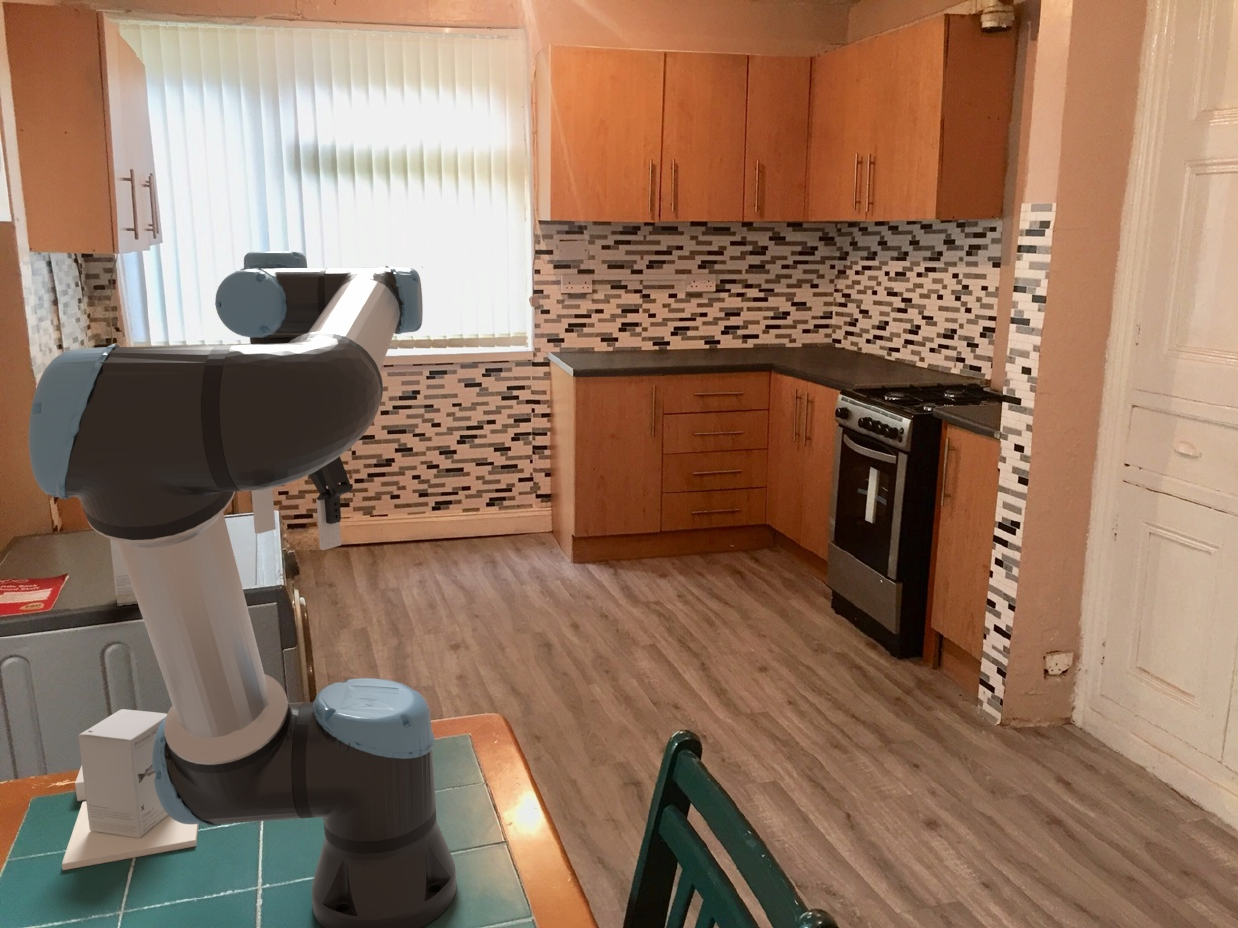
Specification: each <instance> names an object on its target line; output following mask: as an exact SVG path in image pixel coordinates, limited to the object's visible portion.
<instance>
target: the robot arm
mask: <svg viewBox="0 0 1238 928" xmlns="http://www.w3.org/2000/svg"><path fill="white" fill-rule="evenodd" d="M422 291H423V289H422V281H421V278H420V275H419V272H418V271H417V270H415V268H412V267H398V266H397V267H396V266H391V265H385V266H383V267H382V266H381V267H377V266H376V267H336V268H335V267H333V268H329V267H328V268H327V267H318V268H317V267H310V268H308V261H307V257H306V256H305V255H304V253H302V252H300V251H249V252H247V253H246V254H245V255H244V257H243V268H241V269H240V270H236V271H234V272H232V273H230V274H229V275H227V276H226V277H225V278H224V279H223V280H222V281H221V283H219V286H218V288H217V290H216V293H215V303H214V305H215V310H216V313H217V314H218V315H217V316H218V318H219V319H220V320H221V322H222V324H223V325H224V326H225V327H226V328H227V329H228V330H230V331H231V332H233V333H234V334H236V335H238V336H241V337H246V338H249V343H241V344H238V343H237V344H215V345H214V344H213V345H211V344H210V345H209V344H208V345H171V346H170V345H168V346H167V345H166V346H165V345H164V346H126V347H123V346H120V345H119V344H116V343H112V344H110V345H108V346H106V347H104V346H103V347H89V348H77V349H76V348H75V349H74V348H73V349H69V350H66V351H63V352H62V353H60V354H59V355H57V356H56V357H54V358H53V359H52V361H50V362H49V363H48V365H47V366H46V368H45V369H44V371H43V372H42V374H41V376H40V379H39V381H38V383H37V386H36V388H35V391H34V395H33V398H32V403H31V408H30V409H31V410H30V416H29V422H28V423H29V424H28V452H29V453H28V454H29V455H28V456H29V462H30V466H31V471H32V474H33V477H34V479H35V482H36V484H37V486H38V487H39V489H41V491H42V492H43V493H45V494H46V495H49V496H51V497H53V498H59V499H61V500H69V499H71V498H72V497H73V498H77V499H78V500H79V502H80V504H81V507H82V510H83V512H84V514H85V515H84V516H85V518H86V520H87V523H88V524H89V526H90V527H91V529H93V531H94V532H96V533H97V534H99V535H101V536H103V537H104V538H107V539H109V540H110V539H112V540H116V541H117V544H118V547H119V550H120V553H121V556H122V559H123V561H124V564H125V567H126V570H127V573H128V576H129V579H130V582H131V585H132V588H133V591H134V594H135V597H136V599H137V602H138V608H139V611H140V614H141V617H142V620H143V623H144V626H145V629H146V631H147V634H148V639H149V640H150V643H151V646H152V648H153V652H154V655H155V657H156V661H157V663H158V666H159V669H160V670H159V671H160V672H161V675H162V678H163V680H164V684H165V687H166V689H167V693H168V696H169V698H170V702H171V704H172V705H171V707H170V708H169V709H168V711H167V713H166V714H167V716H166V717H165V718H164V720H163V721H162V722H161V724H160V726H159V728H158V730H157V733H156V737H155V741H154V746H153V755H152V768H153V770H155V774H156V776H155V779H154V785H155V789H156V793H157V796H158V798H159V801H160V803H161V805H162V807H163V808H164V810H165V811H166V813H167V814H168V815H169V816H170V817H171V818H172V819H174V820H175V821H177V822H180V823H183V824H199V825H202V826H203V825H204V826H211V827H216V826H222V825H224V824H225V825H228V824H240V823H255V822H267V821H283V820H296V819H298V820H299V819H312V818H316V819H317V818H321V819H322V820H323V829H324V840H323V843H322V847H321V850H320V854H319V857H318V862H317V865H316V867H315V871H314V876H313V879H312V883H311V904H312V911H313V912H312V913H313V915H314V917H315V919H316V921H317V922H318V924H319V925H320V926H322V927H323V928H423V927H425V926H427V925H428V924H430V923H432V922H433V921H435V920H436V919H437V918H439V917H440V916H441V915H442V914H443V913H444V912H445V911H446V910H447V909H448V907H449V906H450V905H451V904H452V902H453V900H454V899H455V895H456V892H457V874H456V872H457V871H456V864H455V860H454V858H453V856H452V853H451V851H450V849H449V846H448V845H447V841H446V839H445V837H444V835H443V831H442V830H441V828H440V825H439V824H438V819H437V803H436V802H437V801H436V800H437V799H436V787H435V786H436V785H435V772H434V769H435V767H434V751H433V750H434V746H435V735H434V732H433V728H432V720H431V711H430V707H429V704H428V703H427V701H426V699H425V698H424V697H423V695H421V693H420V692H418V691H417V690H415V689H413V688H411V687H410V686H408V685H406V684H405V683H402V682H398V681H395V680H394V681H393V680H390V679H386V678H385V679H384V678H383V679H382V678H374V677H373V678H372V677H360V678H359V677H357V678H356V677H355V678H349V679H346V680H344V682H340V681H337V682H334V683H331V684H328V685H327V686H325V687H323V688H322V689H321V690H319V692H318V693H317V694H316V695H315V699H314V701H308V702H306V701H302V702H301V701H300V702H289V701H288V696H287V694H286V692H285V689H284V688H283V686H282V685H281V684H280V682H278V681H277V680H276V679H275V678H274V677H272V676H270V675H268V674H265V672H264V668H263V663H262V660H261V656H260V652H259V651H260V650H259V648H258V644H257V640H256V637H255V632H254V628H253V624H252V620H251V616H250V612H249V608H248V605H247V601H246V597H245V593H244V589H243V585H242V581H241V577H240V573H239V568H238V565H237V560H236V557H235V553H234V549H233V546H232V545H233V544H232V542H231V538H230V533H229V530H228V529H229V528H228V526H227V522H226V519H225V514H224V512H225V510H226V509H227V508H228V507H229V505H231V502H232V501H233V499H234V497H235V495H236V492H249V491H250V500H251V501H250V502H251V505H252V513H253V525H254V526H253V527H254V533H255V534H258V535H259V534H263V533H266V532H271V531H275V530H277V527H276V516H275V506H274V505H275V504H274V503H275V502H274V492H273V491H274V490H273V488H277V487H282V486H285V485H287V484H290V483H293V482H295V481H299V480H301V479H303V478H305V477H307V476H309V478H310V479H311V482H312V483H313V485H314V487H315V488H316V490H317V492H318V494H319V495H318V496H317V497H316V502H315V503H316V513H317V527H318V539H319V540H318V541H319V543H318V544H319V549H320V550H321V551H325V550H329V549H332V548H336V547H340V546H342V539H341V525H340V523H341V520H342V514H341V513H342V511H341V497H342V495H344V494H348V493H351V492H352V484H351V483H350V479H349V477H348V473H347V471H346V469H345V466H344V464H343V461H342V458H341V456H342V455H343V454H345V453H346V452H347V451H348V450H350V449H351V448H352V446H354V445H355V444H356V443H357V442H358V441H359V440H360V439H361V438H362V437H363V436H364V435H365V434H366V432H367V430H368V429H370V427H371V425H372V424H373V422H374V421H375V419H376V416H377V413H378V411H379V409H380V407H381V406H380V405H381V403H382V400H383V391H384V381H383V377H382V373H381V369H382V368H383V364H384V361H385V358H386V355H387V353H388V351H389V348H390V345H391V342H392V340H393V337H394V335H402V334H406V333H415V332H418V331H419V330H420V329H421V327H422V325H423V312H424V311H423V305H424V304H423V292H422Z"/></svg>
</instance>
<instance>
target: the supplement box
mask: <svg viewBox="0 0 1238 928" xmlns="http://www.w3.org/2000/svg"><path fill="white" fill-rule="evenodd" d="M167 714H168V713H165V712H157V711H147V710H145V711H144V710H137V709H135V710H133V709H125V708H121V709H118V711H116V712H114V713H112V714H111V715H109V716H107V717H106V718H104V719H102V720H101V721H99V722H97V723H96V724H94V725H92V726H91V727H90V728H88V729H86V730H84V731H82V732H81V733H79V734H78V736H77V737H78V745H79V754H80V761H81V765H82V771H83V779H84V787H85V795H86V800H85V801H86V804H87V812H88V820H89V830H90V831H95V832H101V833H108V834H115V835H121V836H128V837H135V838H141V837H142V836H143V835H144V834H145V833H146V832H147V831H149V830H150V829H151V828H152V827H153V826H155V825H156V824H157V823H158V822H160V821H161V820H162V819H163V818H165V817H166V816H167V815H168V814H167V813H166V811H165V810H164V808H163V807H162V805H161V803H160V801H159V798H158V796H157V793H156V789H155V785H154V779H155V776H156V774H155V770H153V768H152V755H153V746H154V741H155V737H156V733H157V730H158V728H159V726H160V724H161V722H162V721H163V720H164V718H165V717H166V716H167Z"/></svg>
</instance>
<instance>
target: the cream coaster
mask: <svg viewBox="0 0 1238 928" xmlns="http://www.w3.org/2000/svg"><path fill="white" fill-rule="evenodd" d="M199 825H200V824H183V823H180V822H177V821H175V820H174V819H172V818H171V817H170V816H169V815H167V816H166V817H165V818H163V819H162V820H161V821H160V822H158V823H157V824H156V825H155V826H153V827H152V828H151V829H150V830H149V831H147V832H146V833H145V834H144V835H143V836H142V837H141V838H135V837H128V836H121V835H115V834H108V833H101V832H95V831H90V830H89V820H88V812H87V804H86V800H84V801H82V803H81V806H80V809H79V812H78V815H77V817H76V820H75V824H74V826H73V829H72V833H71V836H70V839H69V841H68V844H67V847H66V850H65V852H64V856H63V858H62V863H61V869H62V871H66V870H67V871H68V870H71V869H72V870H73V869H78V868H82V867H88V866H95V865H99V864H104V863H109V862H110V863H111V862H117V861H121V860H126V859H133V858H138V857H143V856H149V855H155V854H161V853H164V852H165V853H166V852H170V851H177V850H182V849H187V848H192V847H197V842H198V832H199Z"/></svg>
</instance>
